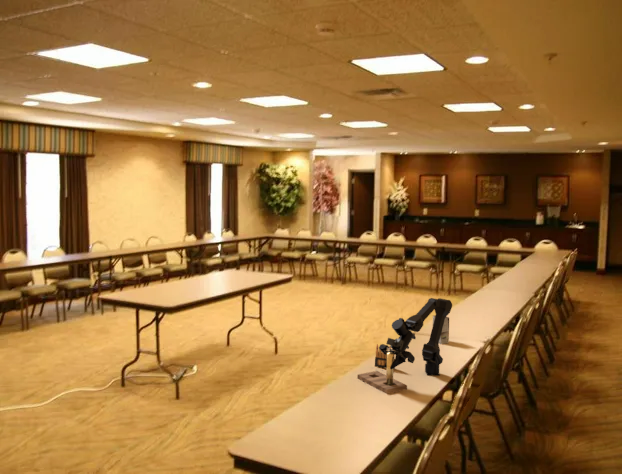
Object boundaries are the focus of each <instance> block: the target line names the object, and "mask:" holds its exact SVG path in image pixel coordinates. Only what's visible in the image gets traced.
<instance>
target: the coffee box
mask: <svg viewBox="0 0 622 474" xmlns="http://www.w3.org/2000/svg"><path fill="white" fill-rule="evenodd" d="M435 316H436V314H435V315H432V325H433V324H434V320H435ZM449 339H450V317H449V316H446V317H445V321H444V325H443V328H442V332H441V336H440V340H439V344H440V345H441V344H442V345H443V344H449Z"/></svg>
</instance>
